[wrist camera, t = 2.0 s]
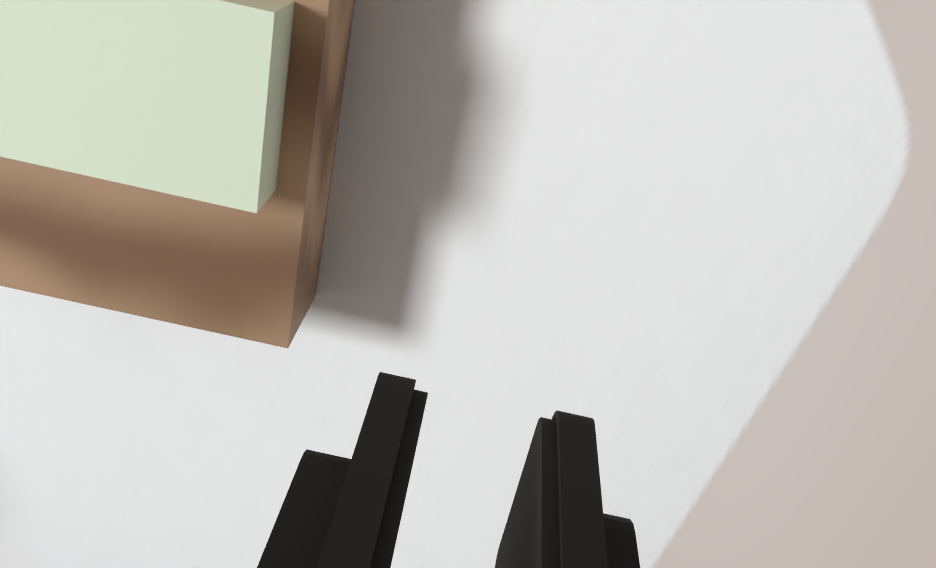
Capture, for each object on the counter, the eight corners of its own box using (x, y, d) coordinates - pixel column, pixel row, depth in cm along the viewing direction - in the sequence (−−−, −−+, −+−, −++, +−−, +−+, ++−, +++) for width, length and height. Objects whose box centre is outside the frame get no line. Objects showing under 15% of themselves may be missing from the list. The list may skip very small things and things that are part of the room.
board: (315, 295, 33) (287, 348, 29) (21, 231, 33) (-42, 276, 29) (383, -216, 24) (356, -229, 21) (-12, -309, 24) (-108, -338, 21)
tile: (275, 189, 26) (256, 213, 25) (2, 128, 26) (-37, 148, 25) (294, 1, 24) (274, 12, 22) (-11, -69, 23) (-57, -63, 22)
